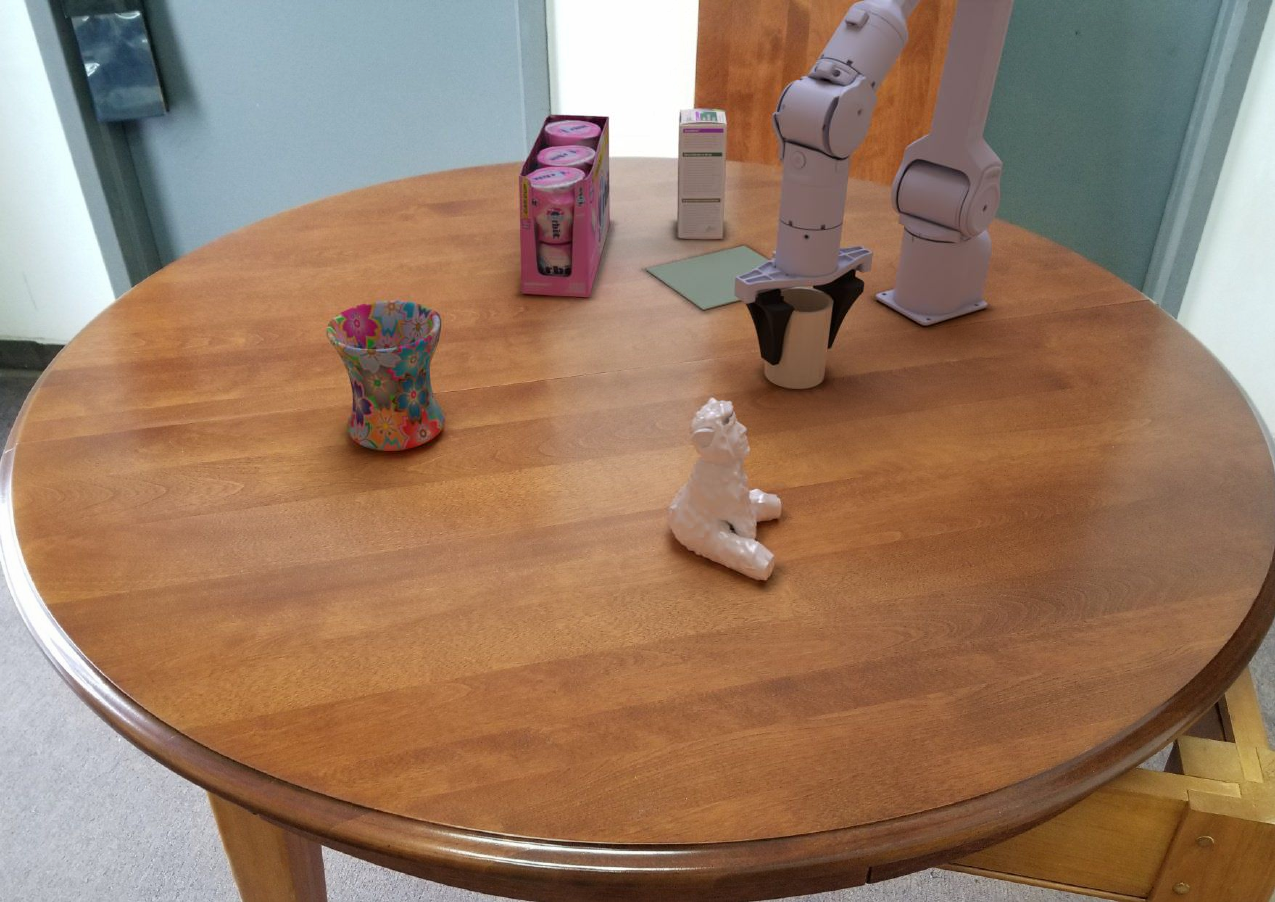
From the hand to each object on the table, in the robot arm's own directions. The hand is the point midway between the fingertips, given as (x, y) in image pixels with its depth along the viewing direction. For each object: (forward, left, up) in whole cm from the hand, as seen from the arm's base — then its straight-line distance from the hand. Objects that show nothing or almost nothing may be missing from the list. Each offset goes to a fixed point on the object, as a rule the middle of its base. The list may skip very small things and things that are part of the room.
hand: (796, 352), depth 103 cm
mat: (-7, -22, -2) cm, 23 cm away
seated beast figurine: (+21, +18, -3) cm, 28 cm away
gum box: (+6, -36, -3) cm, 37 cm away
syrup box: (-12, -35, -3) cm, 37 cm away
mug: (+36, -10, -3) cm, 37 cm away
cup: (0, 0, -2) cm, 2 cm away
